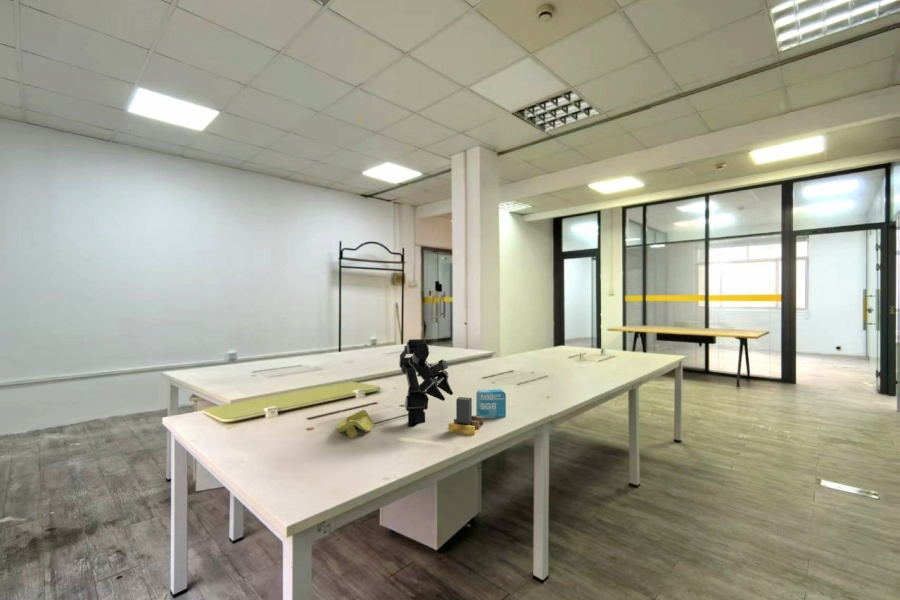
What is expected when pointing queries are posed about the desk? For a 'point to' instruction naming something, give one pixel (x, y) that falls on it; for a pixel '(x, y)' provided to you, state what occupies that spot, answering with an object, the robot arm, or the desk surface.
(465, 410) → the block
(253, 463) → the desk surface
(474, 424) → the rack
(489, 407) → the data package
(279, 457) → the desk surface
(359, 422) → the plastic component
